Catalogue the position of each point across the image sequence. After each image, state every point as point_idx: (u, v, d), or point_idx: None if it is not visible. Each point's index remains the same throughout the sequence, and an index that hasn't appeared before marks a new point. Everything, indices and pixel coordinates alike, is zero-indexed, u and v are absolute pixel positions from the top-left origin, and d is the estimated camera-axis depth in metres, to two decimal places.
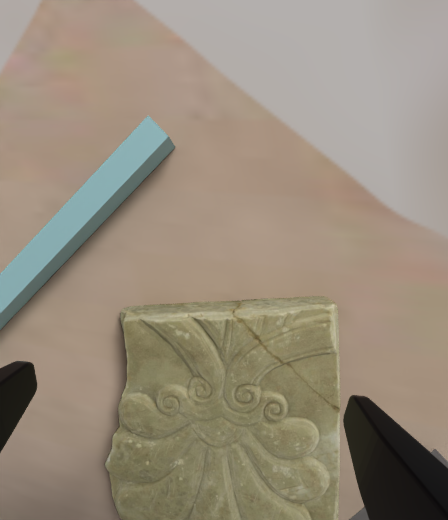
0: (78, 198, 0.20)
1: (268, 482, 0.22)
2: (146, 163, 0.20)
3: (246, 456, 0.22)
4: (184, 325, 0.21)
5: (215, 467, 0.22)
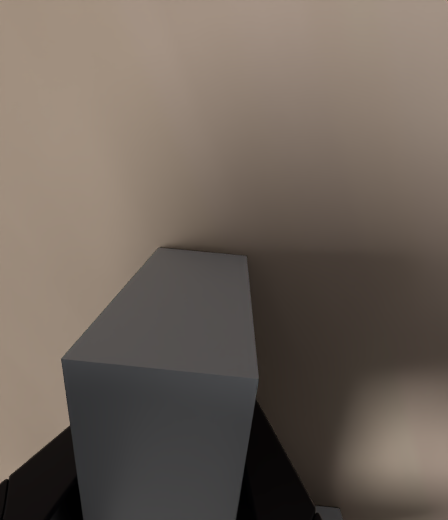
0: None
1: None
2: None
3: None
4: None
5: None
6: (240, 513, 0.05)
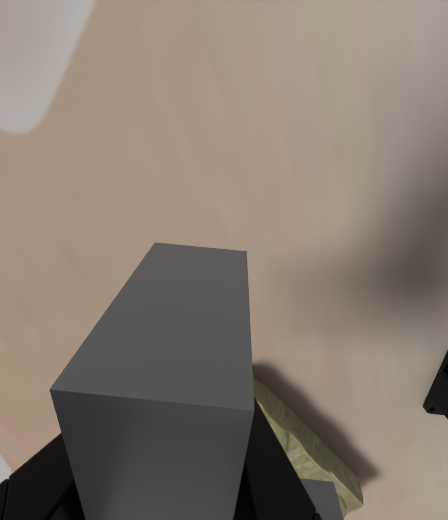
0: None
1: None
2: None
3: None
4: None
5: None
6: (240, 513, 0.05)
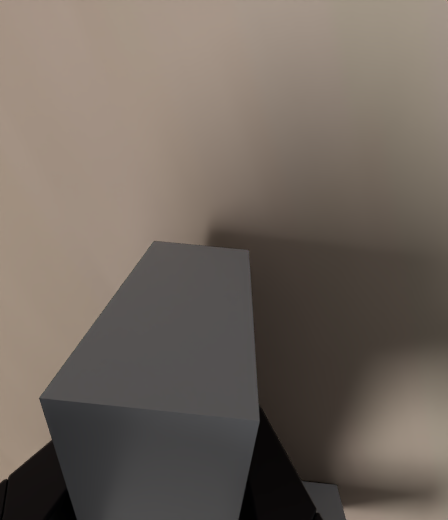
0: None
1: None
2: None
3: None
4: None
5: None
6: (240, 513, 0.05)
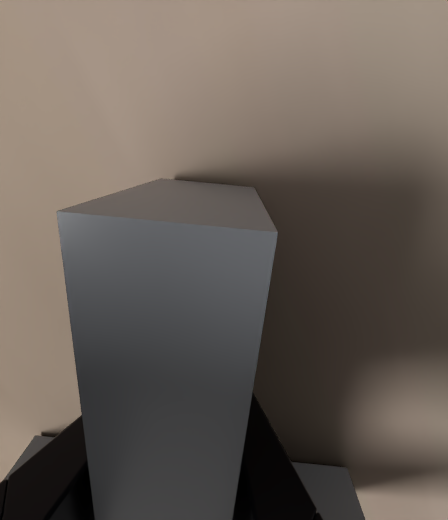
0: None
1: None
2: None
3: None
4: None
5: None
6: (240, 513, 0.05)
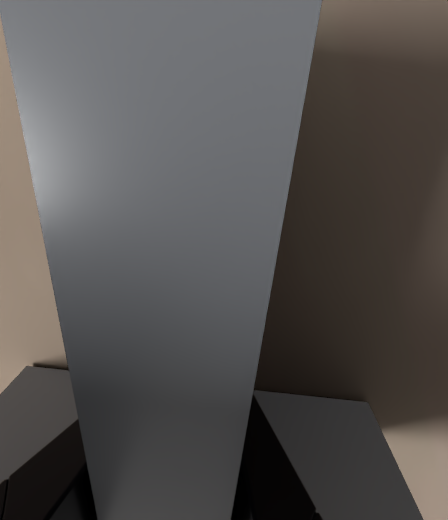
0: None
1: None
2: None
3: None
4: None
5: None
6: (240, 513, 0.05)
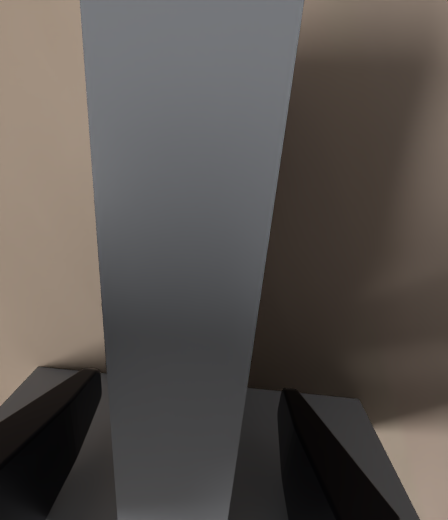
0: None
1: None
2: None
3: None
4: None
5: None
6: None
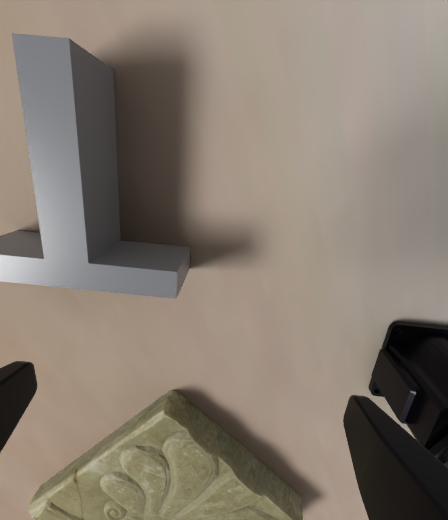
0: None
1: (165, 487, 0.24)
2: None
3: (162, 507, 0.25)
4: None
5: (188, 519, 0.25)
6: None
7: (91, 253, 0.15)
